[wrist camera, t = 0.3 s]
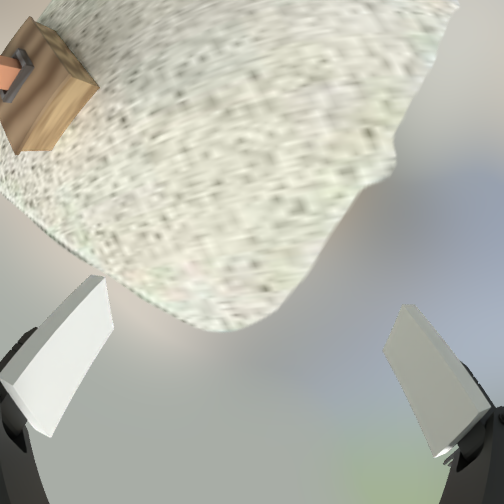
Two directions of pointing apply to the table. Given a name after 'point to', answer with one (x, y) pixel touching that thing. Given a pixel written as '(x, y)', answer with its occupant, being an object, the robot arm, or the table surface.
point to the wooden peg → (8, 71)
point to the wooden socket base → (42, 89)
